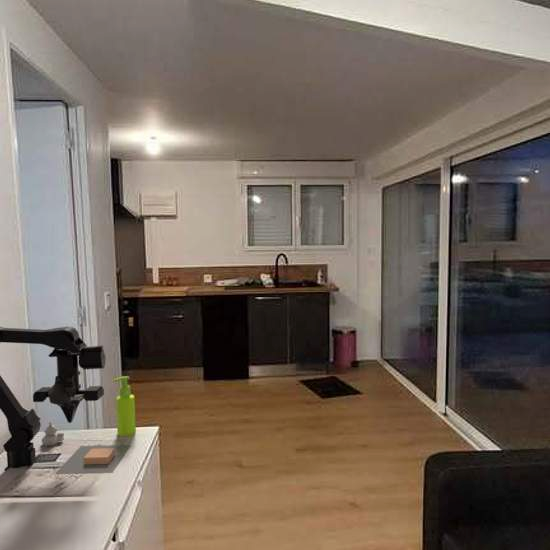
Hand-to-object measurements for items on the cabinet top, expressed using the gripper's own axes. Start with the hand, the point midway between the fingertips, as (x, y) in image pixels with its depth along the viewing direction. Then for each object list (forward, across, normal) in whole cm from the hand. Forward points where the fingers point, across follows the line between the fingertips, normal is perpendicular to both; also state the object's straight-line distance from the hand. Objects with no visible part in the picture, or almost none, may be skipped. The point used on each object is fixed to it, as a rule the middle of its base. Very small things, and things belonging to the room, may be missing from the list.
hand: (70, 422), depth 138 cm
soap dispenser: (+12, +10, +19) cm, 25 cm away
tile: (+10, +5, -1) cm, 11 cm away
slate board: (+12, +7, 0) cm, 14 cm away
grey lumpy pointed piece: (+12, -11, +12) cm, 20 cm away
